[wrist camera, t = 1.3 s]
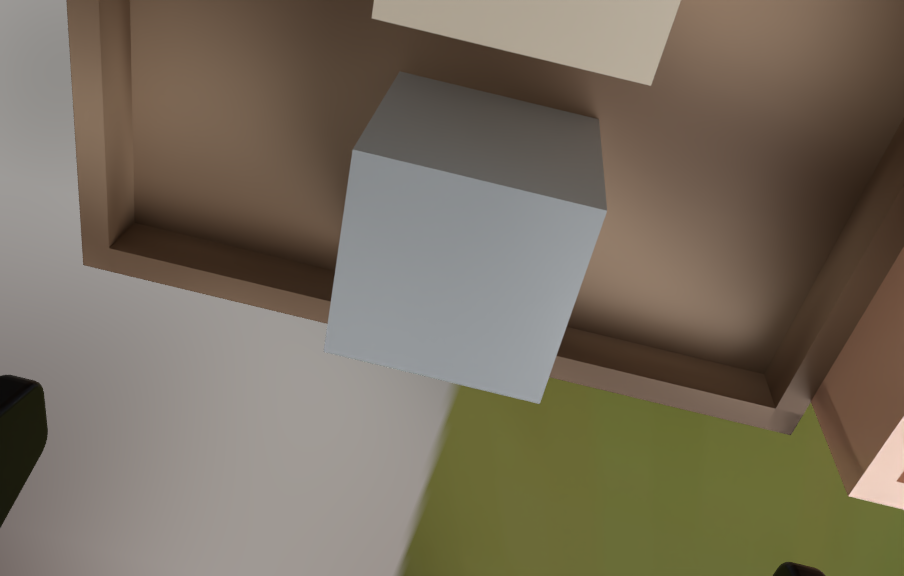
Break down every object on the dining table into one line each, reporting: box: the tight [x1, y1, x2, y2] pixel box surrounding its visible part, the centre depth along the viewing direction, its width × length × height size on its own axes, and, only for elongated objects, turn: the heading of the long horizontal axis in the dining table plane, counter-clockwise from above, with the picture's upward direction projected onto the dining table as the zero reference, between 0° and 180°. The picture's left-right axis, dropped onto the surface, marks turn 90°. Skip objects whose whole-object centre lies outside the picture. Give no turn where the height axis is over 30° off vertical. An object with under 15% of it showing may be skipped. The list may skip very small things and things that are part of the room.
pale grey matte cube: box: [324, 71, 607, 404], centre depth 15 cm, size 4×4×4 cm
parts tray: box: [67, 0, 904, 435], centre depth 15 cm, size 13×16×2 cm
